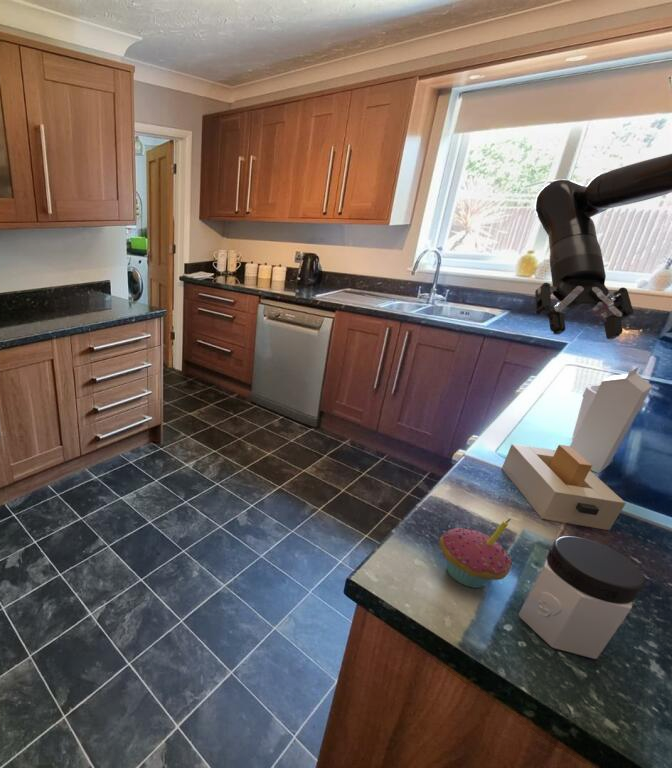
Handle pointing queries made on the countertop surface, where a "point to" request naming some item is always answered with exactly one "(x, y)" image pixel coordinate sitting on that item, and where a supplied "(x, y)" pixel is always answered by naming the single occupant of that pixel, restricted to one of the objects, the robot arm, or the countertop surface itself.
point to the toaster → (560, 490)
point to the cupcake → (475, 556)
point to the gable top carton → (587, 405)
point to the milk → (610, 418)
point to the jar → (581, 595)
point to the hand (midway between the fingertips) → (586, 335)
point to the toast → (569, 466)
